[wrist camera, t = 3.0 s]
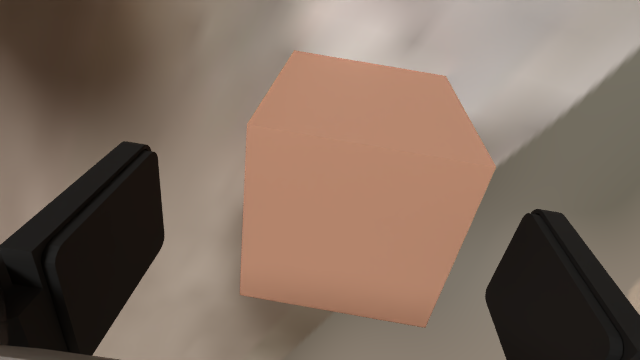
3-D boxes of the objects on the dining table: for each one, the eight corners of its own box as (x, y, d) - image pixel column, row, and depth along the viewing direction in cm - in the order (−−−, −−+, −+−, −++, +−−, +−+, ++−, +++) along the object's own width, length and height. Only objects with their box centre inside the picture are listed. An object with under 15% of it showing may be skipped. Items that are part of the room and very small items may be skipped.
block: (445, 75, 13) (496, 166, 8) (406, 199, 16) (425, 327, 10) (294, 50, 13) (247, 124, 8) (281, 177, 16) (239, 294, 11)
